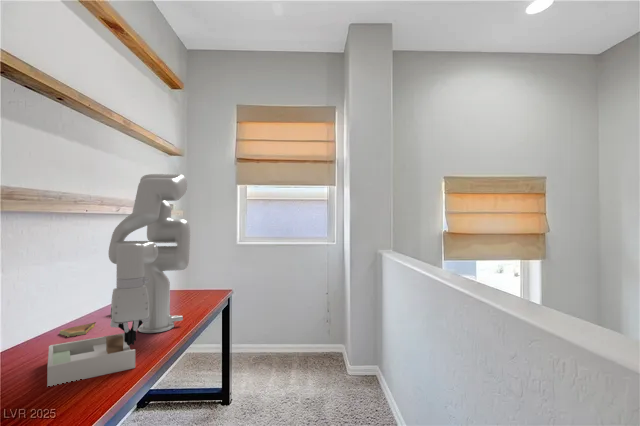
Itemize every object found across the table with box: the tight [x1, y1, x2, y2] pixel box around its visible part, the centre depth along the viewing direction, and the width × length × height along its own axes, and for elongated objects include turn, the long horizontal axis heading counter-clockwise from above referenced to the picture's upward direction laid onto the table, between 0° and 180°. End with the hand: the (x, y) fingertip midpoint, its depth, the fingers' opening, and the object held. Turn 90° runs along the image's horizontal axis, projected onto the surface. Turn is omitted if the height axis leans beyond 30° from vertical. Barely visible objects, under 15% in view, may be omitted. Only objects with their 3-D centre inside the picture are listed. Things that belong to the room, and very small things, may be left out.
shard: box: [59, 321, 97, 338], centre depth 139 cm, size 13×9×2 cm
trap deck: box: [46, 333, 136, 388], centre depth 106 cm, size 20×20×5 cm
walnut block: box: [106, 333, 123, 354], centre depth 110 cm, size 4×4×4 cm
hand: (130, 343), depth 112 cm, fingers closed
